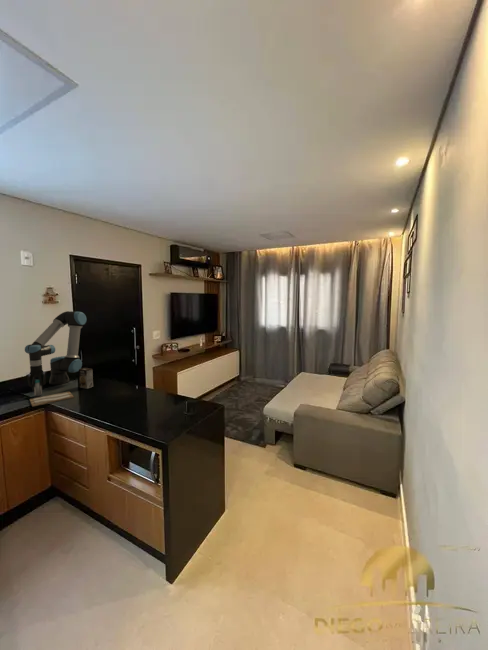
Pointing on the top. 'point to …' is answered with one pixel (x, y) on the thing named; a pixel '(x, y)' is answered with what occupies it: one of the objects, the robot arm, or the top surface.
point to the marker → (37, 388)
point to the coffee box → (86, 378)
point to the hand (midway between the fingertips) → (38, 394)
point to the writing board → (51, 398)
